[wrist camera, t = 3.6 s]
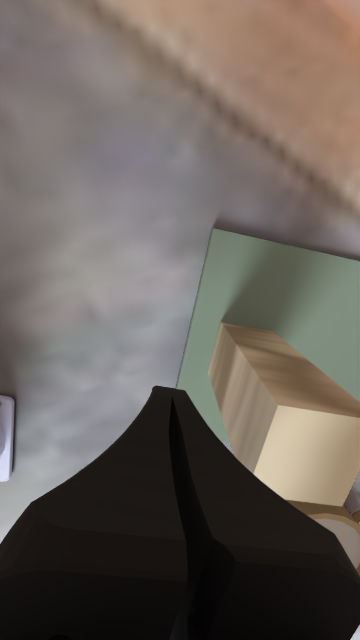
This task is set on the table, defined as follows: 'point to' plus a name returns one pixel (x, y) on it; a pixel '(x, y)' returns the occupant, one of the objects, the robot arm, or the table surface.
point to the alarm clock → (336, 525)
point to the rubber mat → (273, 311)
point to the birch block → (285, 416)
